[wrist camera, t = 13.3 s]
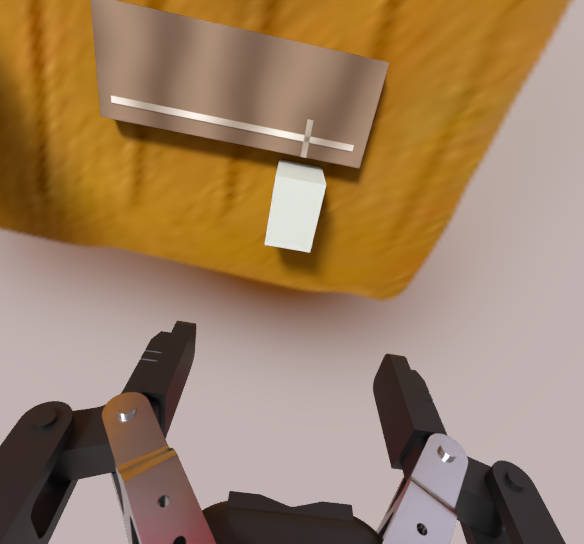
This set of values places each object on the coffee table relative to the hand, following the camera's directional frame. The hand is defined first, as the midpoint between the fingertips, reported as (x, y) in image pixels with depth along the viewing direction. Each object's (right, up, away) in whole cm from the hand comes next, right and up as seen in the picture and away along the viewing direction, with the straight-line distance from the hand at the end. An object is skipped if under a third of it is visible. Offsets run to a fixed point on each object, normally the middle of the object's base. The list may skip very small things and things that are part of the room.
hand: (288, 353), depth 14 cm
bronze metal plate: (-4, +19, +14) cm, 24 cm away
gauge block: (0, +11, +19) cm, 22 cm away
